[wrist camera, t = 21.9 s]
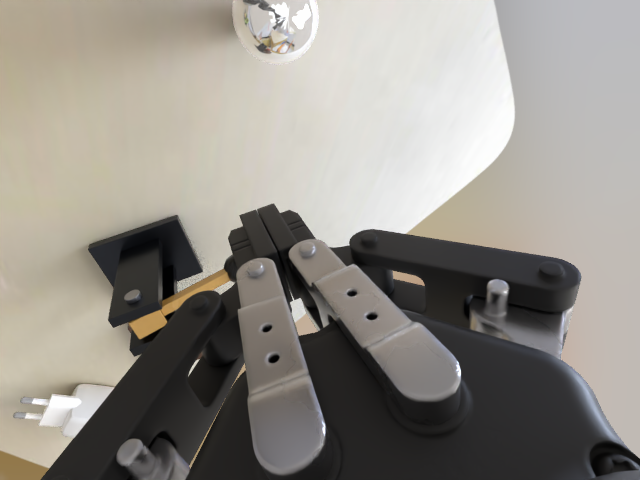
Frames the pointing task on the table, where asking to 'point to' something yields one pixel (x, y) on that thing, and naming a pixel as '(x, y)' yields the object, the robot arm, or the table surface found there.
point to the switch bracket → (145, 271)
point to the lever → (183, 299)
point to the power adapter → (68, 408)
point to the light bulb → (276, 28)
